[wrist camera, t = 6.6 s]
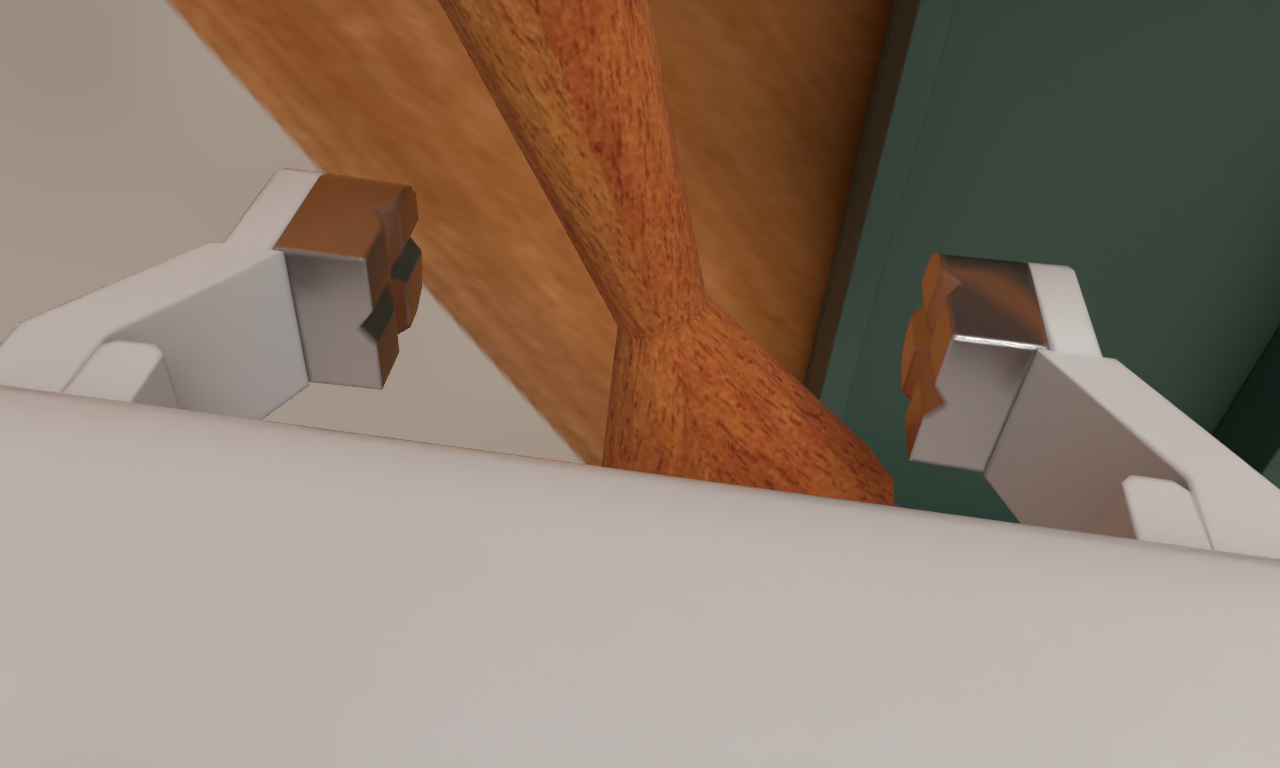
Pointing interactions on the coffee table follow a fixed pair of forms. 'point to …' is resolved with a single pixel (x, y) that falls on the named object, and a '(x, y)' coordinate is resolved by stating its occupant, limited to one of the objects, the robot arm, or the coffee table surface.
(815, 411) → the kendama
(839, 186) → the coffee table surface
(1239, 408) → the tray
